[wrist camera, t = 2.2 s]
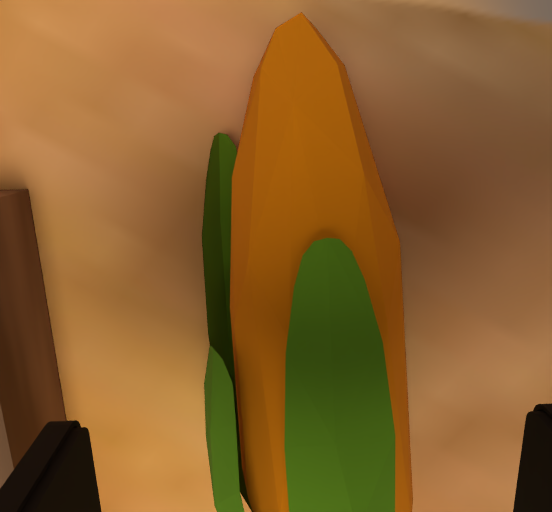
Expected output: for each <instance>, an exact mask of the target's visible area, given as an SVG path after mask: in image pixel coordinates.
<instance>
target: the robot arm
mask: <svg viewBox="0 0 552 512" xmlns="http://www.w3.org/2000/svg"><path fill="white" fill-rule="evenodd" d="M0 512H101V506H100V500H99V493H98V487H97V481H96V474H95V468H94V461H93V455H92V448H91V442H90V436H89V431H88V429H87V428H86V427H81V426H80V424H79V422H78V421H76V420H75V421H50V422H48V423H47V424H46V425H45V426H44V428H43V429H42V430H41V432H40V433H39V435H38V436H37V438H36V439H35V440H34V442H33V443H32V445H31V446H30V447H29V449H28V450H27V452H26V453H25V454H24V456H23V457H22V459H21V460H20V462H19V463H18V464H17V466H16V467H15V469H14V470H13V471H12V473H11V474H10V476H9V477H8V478H7V480H6V481H5V483H4V484H3V486H2V487H1V488H0ZM513 512H552V404H538V405H536V406H535V408H534V410H533V411H531V412H528V414H527V416H526V421H525V429H524V436H523V443H522V451H521V458H520V465H519V473H518V480H517V487H516V495H515V502H514V509H513Z"/></svg>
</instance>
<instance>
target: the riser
mask: <svg viewBox="0 0 552 512" xmlns="http://www.w3.org/2000/svg"><path fill="white" fill-rule="evenodd" d="M50 421H66V417H65V411H64V405H63V399H62V393H61V387H60V381H59V374H58V368H57V362H56V356H55V350H54V344H53V338H52V332H51V326H50V320H49V314H48V308H47V302H46V296H45V290H44V284H43V278H42V272H41V266H40V260H39V254H38V248H37V242H36V236H35V230H34V224H33V218H32V211H31V205H30V199H29V193H28V190H0V488H1V487H2V486H3V484H4V483H5V481H6V480H7V478H8V477H9V476H10V474H11V473H12V471H13V470H14V469H15V467H16V466H17V464H18V463H19V462H20V460H21V459H22V457H23V456H24V454H25V453H26V452H27V450H28V449H29V447H30V446H31V445H32V443H33V442H34V440H35V439H36V438H37V436H38V435H39V433H40V432H41V430H42V429H43V428H44V426H45V425H46V424H47V423H48V422H50Z"/></svg>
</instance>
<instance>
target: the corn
mask: <svg viewBox="0 0 552 512" xmlns="http://www.w3.org/2000/svg"><path fill="white" fill-rule="evenodd" d="M202 246H203V261H204V276H205V292H206V307H207V323H208V335H209V342H210V348H209V355H208V361H207V368H206V375H205V382H204V389H205V420H206V440H207V448H208V456H209V464H210V472H211V480H212V488H213V496H214V504H215V508H216V510H217V512H244V508H243V504H242V499H241V495H240V493H241V494H242V496H243V498H244V499H245V501H246V503H247V504H248V506H249V507H250V509H251V511H252V512H412V504H413V493H412V473H411V453H410V433H409V413H408V392H407V372H406V352H405V332H404V312H403V292H402V272H401V251H400V241H399V237H398V234H397V231H396V228H395V225H394V221H393V218H392V215H391V212H390V209H389V206H388V202H387V199H386V196H385V193H384V190H383V186H382V183H381V180H380V177H379V174H378V171H377V167H376V164H375V161H374V158H373V155H372V151H371V148H370V145H369V142H368V139H367V135H366V132H365V129H364V126H363V123H362V120H361V116H360V113H359V110H358V107H357V104H356V100H355V97H354V94H353V91H352V88H351V85H350V81H349V78H348V75H347V72H346V69H345V65H344V64H343V63H342V61H341V60H340V59H339V58H338V56H337V55H336V54H335V52H334V51H333V50H332V48H331V47H330V46H329V44H328V43H327V42H326V41H325V39H324V38H323V37H322V35H321V34H320V33H319V31H318V30H317V29H316V28H315V27H314V26H313V24H312V23H311V22H310V21H309V20H308V19H307V18H306V17H305V16H304V15H303V14H302V12H301V13H300V14H298V15H296V16H295V17H293V18H292V19H290V20H288V21H287V22H285V23H284V24H282V25H280V26H279V27H277V28H276V29H275V31H274V33H273V36H272V38H271V40H270V42H269V44H268V47H267V49H266V51H265V53H264V55H263V58H262V60H261V62H260V64H259V66H258V68H257V71H256V73H255V75H254V77H253V82H252V87H251V91H250V96H249V101H248V105H247V110H246V114H245V119H244V124H243V128H242V133H241V138H240V142H239V147H238V151H237V150H236V146H235V145H234V143H233V142H232V141H231V139H230V138H229V137H228V135H227V134H222V133H218V134H217V135H215V136H214V139H213V143H212V147H211V151H210V158H209V165H208V171H207V178H206V190H205V203H204V216H203V230H202Z"/></svg>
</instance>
